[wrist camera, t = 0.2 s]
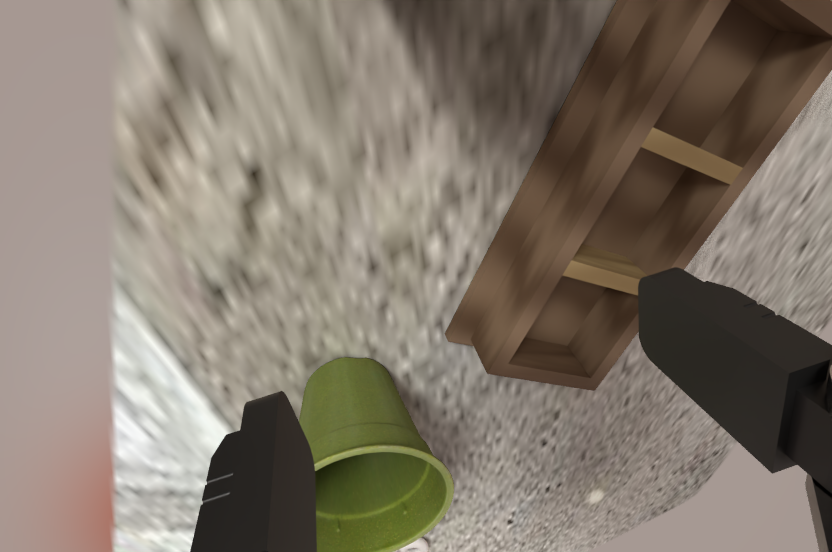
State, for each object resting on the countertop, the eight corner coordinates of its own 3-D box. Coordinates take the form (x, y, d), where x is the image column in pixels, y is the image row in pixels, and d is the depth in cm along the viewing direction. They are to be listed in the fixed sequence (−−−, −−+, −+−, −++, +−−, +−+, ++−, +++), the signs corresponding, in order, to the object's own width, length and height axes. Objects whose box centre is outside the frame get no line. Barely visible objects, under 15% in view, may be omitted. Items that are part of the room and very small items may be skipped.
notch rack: (661, -86, 27) (728, -94, 23) (813, 18, 32) (890, 26, 28) (444, 333, 40) (463, 376, 36) (578, 358, 45) (607, 398, 41)
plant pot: (443, 357, 41) (489, 471, 32) (371, 446, 45) (392, 570, 36) (318, 309, 36) (330, 430, 27) (249, 415, 40) (237, 552, 31)
